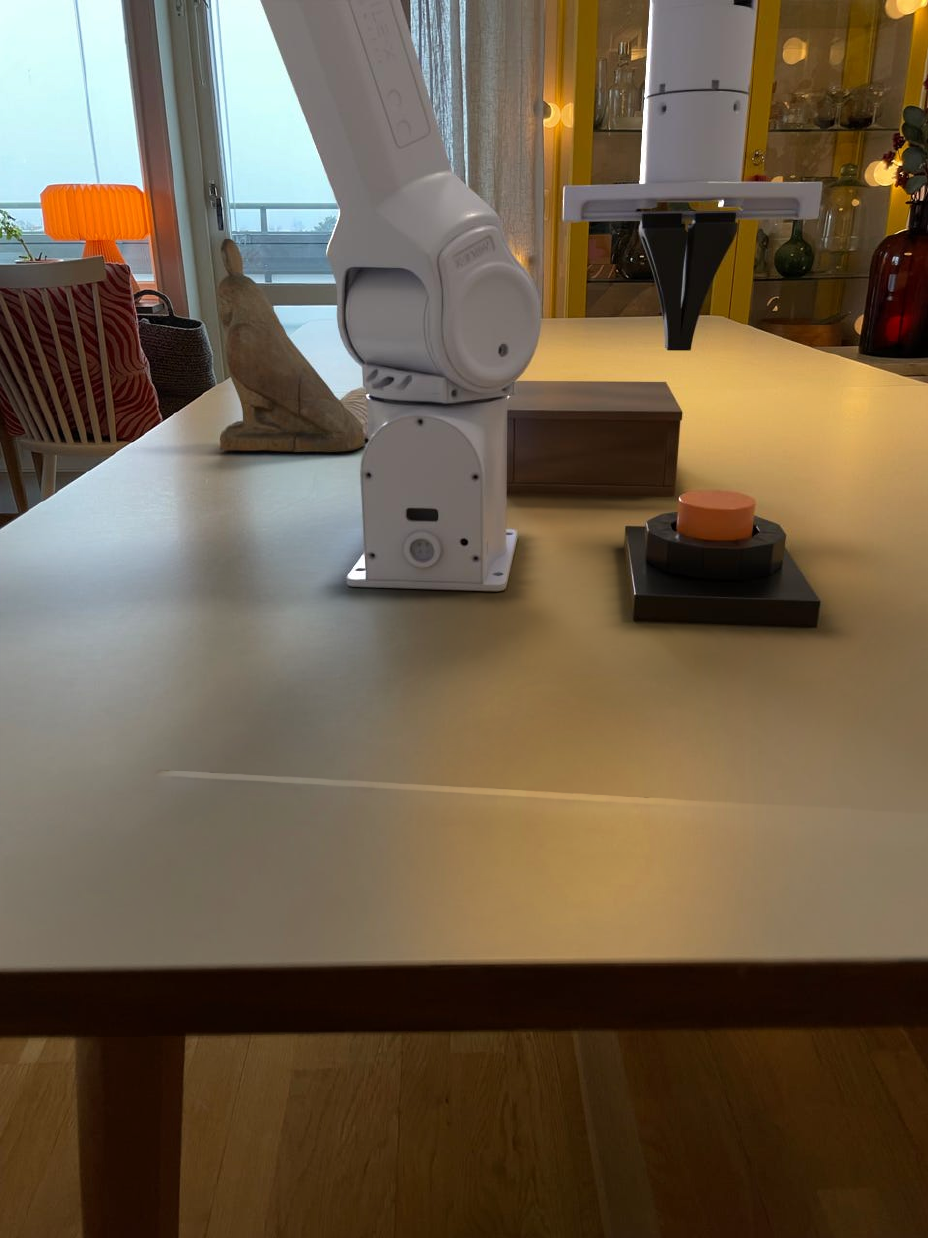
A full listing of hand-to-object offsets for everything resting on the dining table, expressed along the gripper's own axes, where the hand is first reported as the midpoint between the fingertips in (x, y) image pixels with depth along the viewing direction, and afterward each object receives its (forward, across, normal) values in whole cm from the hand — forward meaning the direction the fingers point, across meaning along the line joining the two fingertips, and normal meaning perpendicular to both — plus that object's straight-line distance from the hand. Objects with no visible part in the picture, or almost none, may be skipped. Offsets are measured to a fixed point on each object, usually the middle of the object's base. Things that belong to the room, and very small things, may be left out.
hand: (677, 349), depth 58 cm
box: (+10, +5, -8) cm, 14 cm away
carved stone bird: (+3, +31, -40) cm, 51 cm away
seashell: (+10, +23, -24) cm, 34 cm away
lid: (+4, +5, -7) cm, 10 cm away
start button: (+7, -1, +16) cm, 17 cm away
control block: (+10, -1, +16) cm, 19 cm away
